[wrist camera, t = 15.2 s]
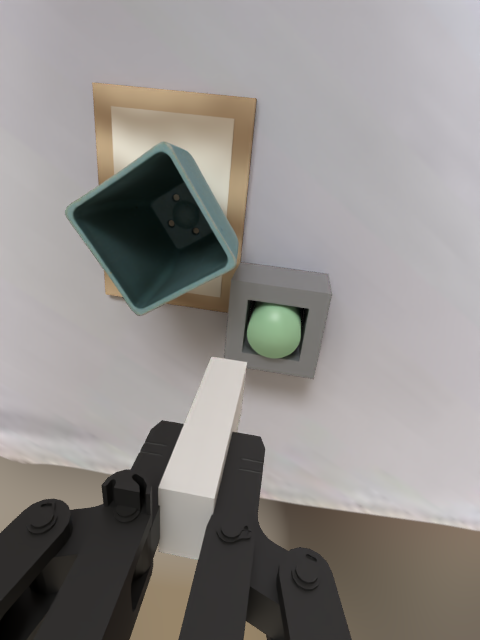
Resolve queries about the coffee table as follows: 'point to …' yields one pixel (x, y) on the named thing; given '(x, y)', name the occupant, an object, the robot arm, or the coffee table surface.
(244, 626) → the robot arm
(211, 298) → the board
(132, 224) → the flower pot
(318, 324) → the button box
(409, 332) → the coffee table surface
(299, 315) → the button
